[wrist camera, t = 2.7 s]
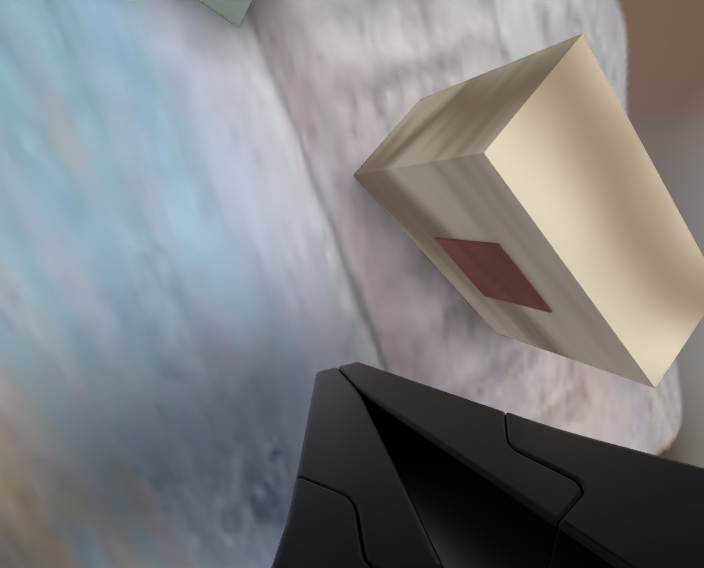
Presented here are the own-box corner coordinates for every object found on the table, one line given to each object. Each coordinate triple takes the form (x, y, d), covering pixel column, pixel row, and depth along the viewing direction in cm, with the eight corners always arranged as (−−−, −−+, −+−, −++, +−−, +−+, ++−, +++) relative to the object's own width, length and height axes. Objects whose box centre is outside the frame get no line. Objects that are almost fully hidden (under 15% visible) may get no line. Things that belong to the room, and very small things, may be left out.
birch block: (493, 333, 26) (653, 390, 18) (351, 176, 21) (481, 155, 13) (545, 265, 27) (720, 289, 19) (419, 99, 22) (582, 33, 14)
